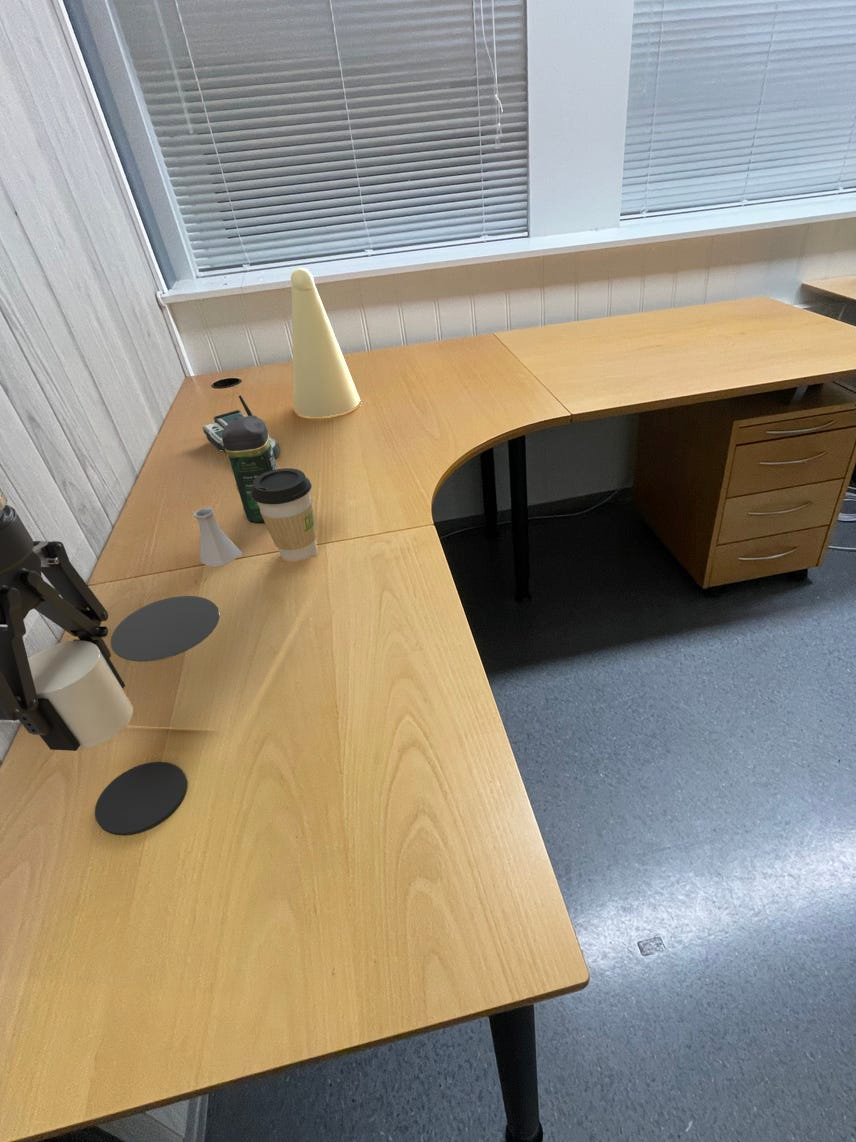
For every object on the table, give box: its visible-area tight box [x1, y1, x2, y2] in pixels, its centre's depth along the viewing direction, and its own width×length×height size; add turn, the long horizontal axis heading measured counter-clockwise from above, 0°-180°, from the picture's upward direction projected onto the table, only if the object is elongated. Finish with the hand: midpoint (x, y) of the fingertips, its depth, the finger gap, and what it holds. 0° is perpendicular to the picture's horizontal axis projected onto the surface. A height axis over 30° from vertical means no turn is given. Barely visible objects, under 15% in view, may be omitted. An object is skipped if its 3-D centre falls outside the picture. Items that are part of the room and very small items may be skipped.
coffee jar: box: [222, 415, 278, 524], centre depth 119 cm, size 10×8×19 cm
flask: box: [193, 507, 244, 567], centre depth 109 cm, size 7×7×10 cm
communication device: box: [201, 394, 280, 459], centre depth 148 cm, size 12×24×9 cm, turn 39°
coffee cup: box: [251, 467, 318, 562], centre depth 107 cm, size 10×10×15 cm
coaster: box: [94, 761, 188, 836], centre depth 73 cm, size 10×10×1 cm
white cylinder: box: [28, 640, 134, 751], centre depth 62 cm, size 8×8×8 cm
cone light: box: [290, 267, 361, 417], centre depth 157 cm, size 25×18×35 cm
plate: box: [110, 595, 221, 662], centre depth 97 cm, size 16×16×1 cm
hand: (89, 715), depth 64 cm, fingers closed on white cylinder, 8 cm apart
